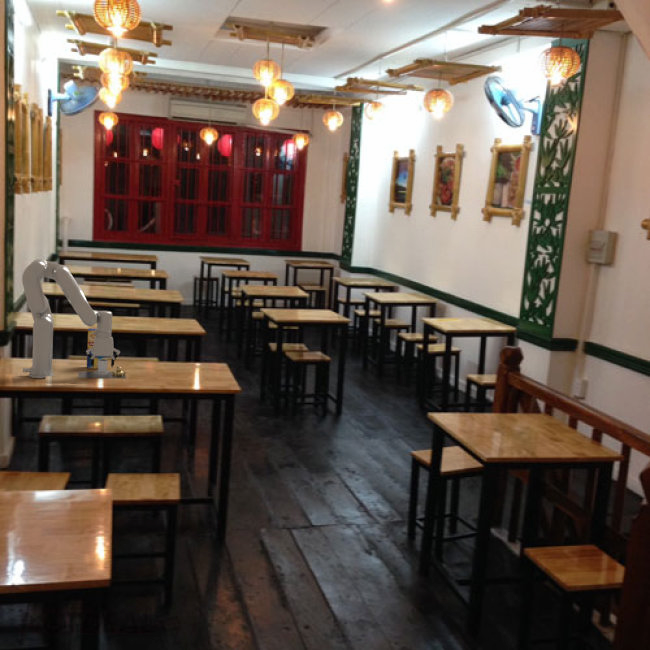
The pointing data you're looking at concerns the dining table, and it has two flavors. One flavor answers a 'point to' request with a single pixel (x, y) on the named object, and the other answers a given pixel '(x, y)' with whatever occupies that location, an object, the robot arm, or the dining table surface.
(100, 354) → the robot arm
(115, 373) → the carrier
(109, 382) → the dining table surface
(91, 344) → the beverage box
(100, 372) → the square hollow tube
